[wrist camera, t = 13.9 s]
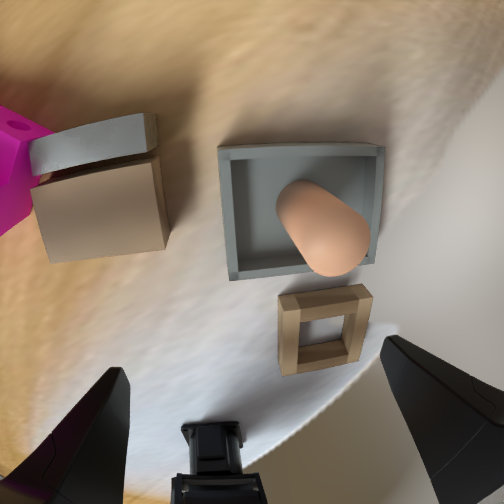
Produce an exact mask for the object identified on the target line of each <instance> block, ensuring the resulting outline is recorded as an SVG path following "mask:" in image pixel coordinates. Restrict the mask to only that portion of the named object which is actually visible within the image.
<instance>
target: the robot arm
mask: <svg viewBox="0 0 504 504" xmlns="http://www.w3.org/2000/svg"><path fill="white" fill-rule="evenodd" d="M380 359H381V362H382V364H383V367H384V370H385V373H386V376H387V379H388V382H389V385H390V387H391V390H392V392H393V395H394V397H395V399H396V402H397V404H398V406H399V408H400V410H401V412H402V415H403V417H404V419H405V421H406V423H407V425H408V428H409V430H410V432H411V435H412V437H413V439H414V442H415V444H416V446H417V449H418V451H419V453H420V456H421V458H422V460H423V463H424V465H425V468H426V470H427V473H428V475H429V478H430V479H431V483H432V486H433V488H434V491H435V493H436V496H437V499H438V501H439V504H477V503H479V504H504V391H502V390H499V389H497V388H495V387H493V386H490V385H488V384H486V383H484V382H482V381H480V380H478V379H477V378H475V377H473V376H470V375H469V374H467V373H466V372H464V371H462V370H460V369H458V368H456V367H455V366H453V365H451V364H449V363H447V362H445V361H444V360H442V359H440V358H438V357H436V356H434V355H433V354H431V353H429V352H427V351H425V350H424V349H422V348H420V347H418V346H416V345H414V344H413V343H411V342H409V341H407V340H405V339H403V338H402V337H400V336H398V335H391V336H387V337H386V338H385V340H384V343H383V346H382V349H381V352H380ZM129 428H130V383H129V381H128V379H127V376H126V374H125V372H124V370H123V368H122V367H110V368H109V369H108V370H107V371H106V372H105V373H104V374H103V375H102V376H101V377H100V379H99V380H98V381H97V382H96V383H95V384H94V385H93V386H92V387H91V388H90V390H89V391H88V392H87V393H86V394H85V395H84V396H83V397H82V398H81V399H80V401H79V402H78V403H77V404H76V405H75V406H74V407H73V408H72V410H71V411H70V412H69V413H68V414H67V415H66V416H65V417H64V418H63V420H62V421H61V422H60V423H59V424H58V425H57V426H56V428H55V429H54V430H53V431H52V434H51V433H50V434H49V435H48V436H47V438H46V439H45V440H44V441H43V442H42V443H41V444H40V445H39V446H38V448H37V449H36V450H35V451H34V452H33V453H31V454H30V455H29V456H28V457H27V458H26V459H25V460H24V461H23V462H22V463H21V464H20V465H19V466H18V467H16V468H15V469H14V470H13V471H12V472H11V473H10V474H9V475H8V476H6V477H5V478H4V479H2V480H0V504H123V491H124V477H125V465H126V455H127V446H128V437H129ZM181 431H182V433H183V435H184V437H185V439H186V441H187V443H188V445H189V455H190V474H182V473H177V477H174V478H172V490H171V502H170V504H268V503H267V499H266V496H265V492H264V489H263V486H262V482H261V479H260V476H259V473H258V472H256V473H252V474H243V470H242V463H241V456H240V448H243V443H242V437H241V432H240V426H239V423H238V422H226V423H215V424H200V425H183V426H181ZM184 491H185V492H184Z"/></svg>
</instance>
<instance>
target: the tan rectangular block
mask: <svg viewBox="0 0 504 504" xmlns="http://www.w3.org/2000/svg"><path fill="white" fill-rule="evenodd" d="M30 192H31V197H32V201H33V205H34V209H35V213H36V217H37V221H38V225H39V228H40V232H41V235H42V239H43V242H44V245H45V249H46V252H47V255H48V258H49V261H50V264H54V263H62V262H70V261H78V260H86V259H93V258H101V257H110V256H118V255H126V254H134V253H142V252H151V251H159V250H165V249H166V245H167V242H168V239H169V236H170V227H169V221H168V215H167V208H166V202H165V195H164V188H163V181H162V174H161V166H160V158H159V156H158V157H152V158H146V159H140V160H134V161H128V162H123V163H118V164H113V165H108V166H103V167H98V168H93V169H89V170H84V171H80V172H76V173H71V174H67V175H63V176H59V177H55V178H52V179H49V180H47V181H45V182H43V183H41V184H39V185H37V186H35V187H33V188H31V189H30Z"/></svg>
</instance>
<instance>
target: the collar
mask: <svg viewBox="0 0 504 504" xmlns="http://www.w3.org/2000/svg"><path fill="white" fill-rule="evenodd" d="M372 301H373V296H372V295H371V294H370V292H369V291H368V290H367V289H366V287H365V286H364V285H363V284H357V285H350V286H344V287H337V288H331V289H324V290H317V291H310V292H303V293H295V294H288V295H280V296H278V363H279V366H280V370H281V373H282V376H288V375H294V374H299V373H305V372H310V371H315V370H320V369H325V368H330V367H334V366H339V365H343V364H348V363H352V362H356V361H359V357H360V354H361V350H362V346H363V342H364V337H365V333H366V329H367V325H368V320H369V316H370V311H371V306H372ZM341 315H345V317H344V323H343V329H342V335H341V340H336V341H331V342H326V343H321V344H315V345H310V346H304V347H298V345H299V329H300V322H306V321H312V320H318V319H324V318H330V317H335V316H341Z"/></svg>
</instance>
